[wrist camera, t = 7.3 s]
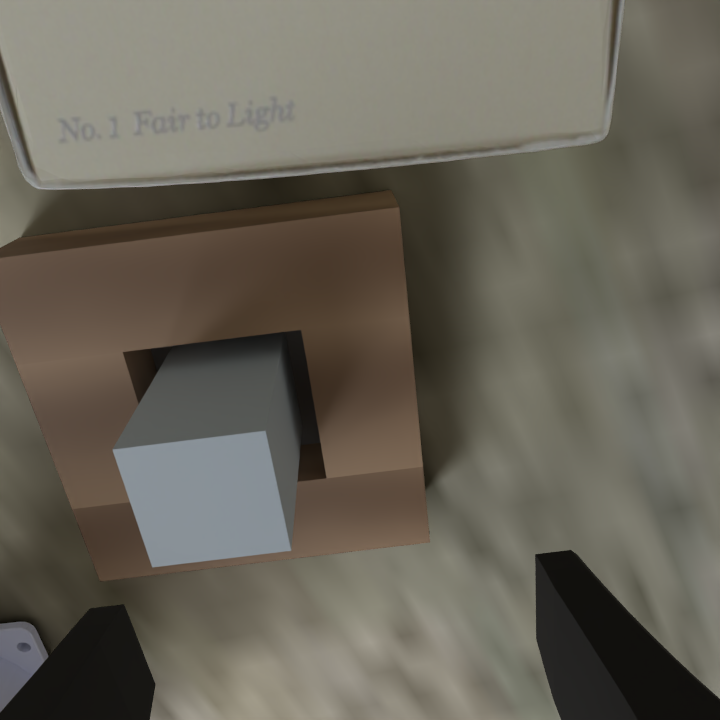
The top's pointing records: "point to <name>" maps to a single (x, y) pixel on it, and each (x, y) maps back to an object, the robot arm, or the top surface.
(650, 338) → the top surface
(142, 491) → the peg
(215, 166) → the skincare box
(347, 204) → the walnut socket block
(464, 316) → the top surface
